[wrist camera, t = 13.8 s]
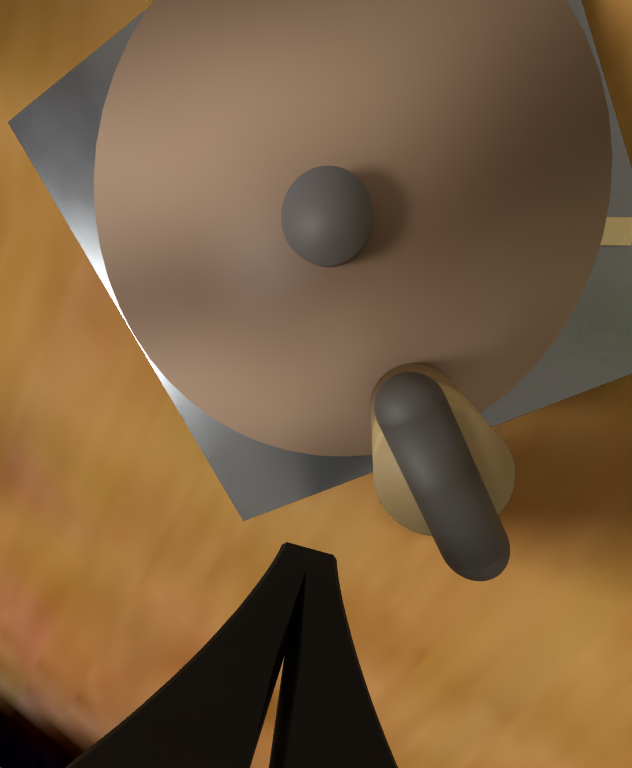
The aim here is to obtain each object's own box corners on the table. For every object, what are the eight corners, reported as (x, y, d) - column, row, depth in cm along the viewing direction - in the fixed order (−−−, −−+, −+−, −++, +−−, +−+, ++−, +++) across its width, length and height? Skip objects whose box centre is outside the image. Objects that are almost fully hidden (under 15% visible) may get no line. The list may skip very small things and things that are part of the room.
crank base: (40, 137, 11) (4, 120, 10) (481, -208, 8) (500, -286, 7) (252, 503, 13) (242, 523, 12) (656, 346, 10) (690, 353, 9)
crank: (47, 134, 9) (-315, -39, 4) (469, -194, 7) (746, -1459, 2) (262, 508, 11) (183, 681, 6) (648, 361, 9) (1008, 456, 4)
